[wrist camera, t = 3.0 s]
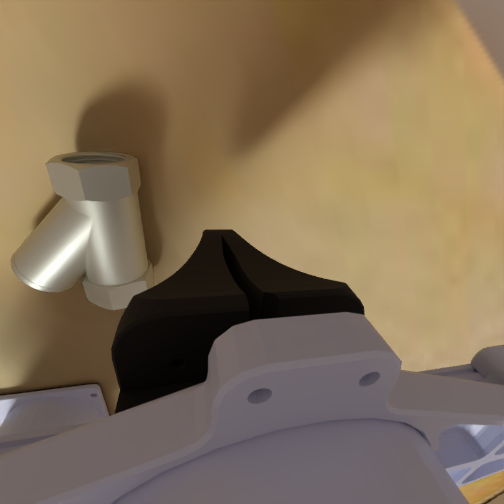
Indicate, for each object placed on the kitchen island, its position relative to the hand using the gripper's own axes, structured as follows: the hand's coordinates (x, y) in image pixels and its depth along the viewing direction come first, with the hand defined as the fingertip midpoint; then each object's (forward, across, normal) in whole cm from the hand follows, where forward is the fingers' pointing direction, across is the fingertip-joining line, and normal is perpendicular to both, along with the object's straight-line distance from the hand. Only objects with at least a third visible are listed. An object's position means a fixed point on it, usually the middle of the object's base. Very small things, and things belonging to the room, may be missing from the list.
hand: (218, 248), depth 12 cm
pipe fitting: (+6, +7, +1) cm, 9 cm away
